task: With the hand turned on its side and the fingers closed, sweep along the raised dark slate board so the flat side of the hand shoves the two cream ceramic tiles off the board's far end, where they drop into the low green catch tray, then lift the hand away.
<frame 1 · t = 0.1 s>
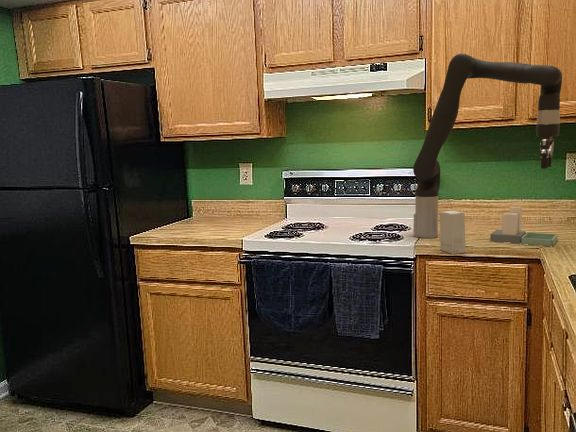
hand: (546, 167, 193), 29 cm above the counter, tool pointing down, fingers open, 8 cm apart
tile a: (509, 233, 205), point 3 cm above the counter, touching board
catch tray: (539, 242, 202), on the counter
board: (508, 240, 208), on the counter
skincare box: (452, 252, 192), on the counter
tile b: (514, 232, 209), point 3 cm above the counter, touching board
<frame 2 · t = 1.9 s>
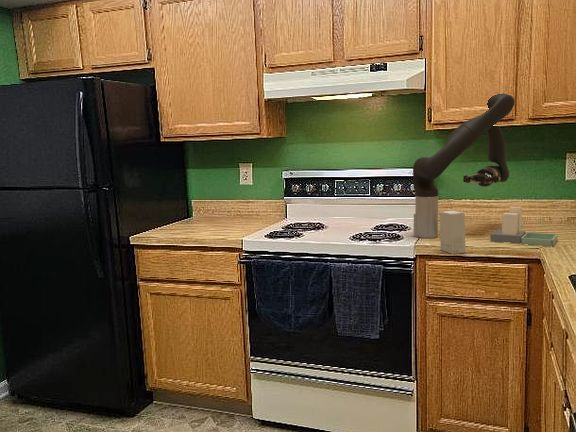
hand: (476, 180, 208), 24 cm above the counter, tool horizontal, fingers open, 7 cm apart
nothing on the counter moved.
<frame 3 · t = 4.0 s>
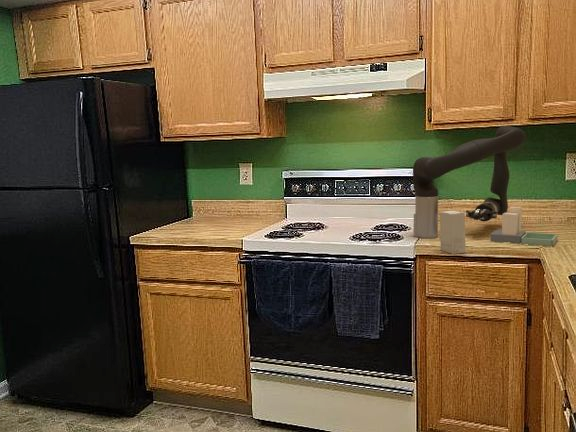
hand: (475, 217, 209), 9 cm above the counter, tool horizontal, fingers closed
nothing on the counter moved.
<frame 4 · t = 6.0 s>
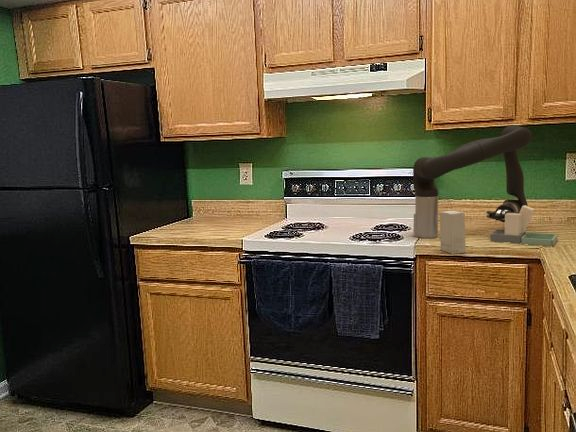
hand: (497, 217, 205), 10 cm above the counter, tool horizontal, fingers closed
tile a: (512, 234, 204), point 3 cm above the counter
tile b: (518, 230, 208), point 4 cm above the counter, tilted 20°, touching board
everything else where it was.
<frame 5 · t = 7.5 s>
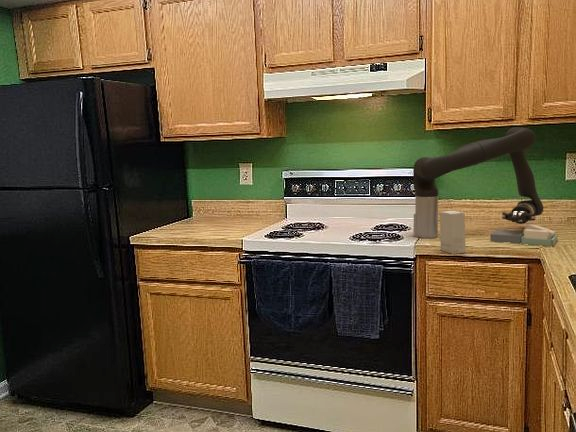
hand: (514, 219, 201), 9 cm above the counter, tool horizontal, fingers closed
tile a: (525, 236, 201), point 3 cm above the counter, tilted 90°, touching catch tray
tile b: (525, 227, 206), point 5 cm above the counter, tilted 106°, touching board, catch tray
everything else where it was.
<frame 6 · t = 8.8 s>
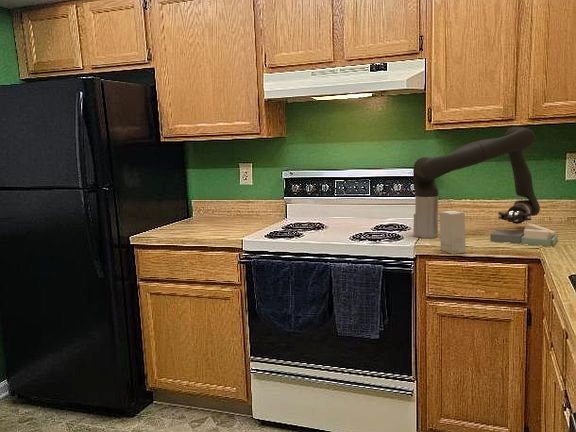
hand: (510, 219, 202), 9 cm above the counter, tool horizontal, fingers closed
nothing on the counter moved.
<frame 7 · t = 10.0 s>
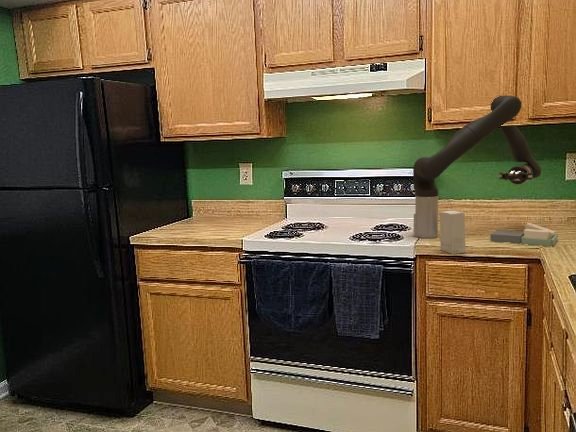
hand: (510, 177, 202), 25 cm above the counter, tool horizontal, fingers closed
nothing on the counter moved.
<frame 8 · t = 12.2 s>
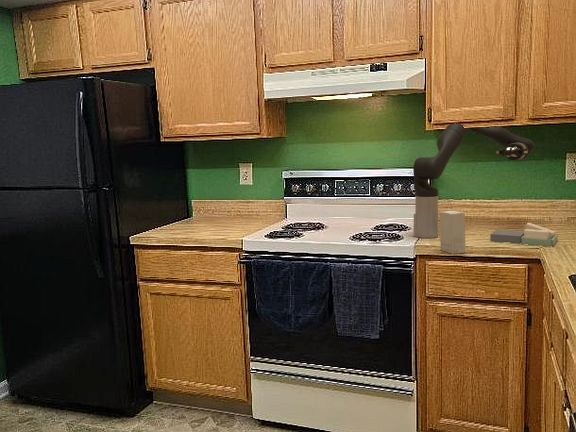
hand: (507, 153, 215), 34 cm above the counter, tool horizontal, fingers closed
nothing on the counter moved.
at the end: tile a inside the target area (7.0 cm from its centre), point 2.8 cm above the counter; tile b inside the target area (7.0 cm from its centre), point 5.0 cm above the counter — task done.
